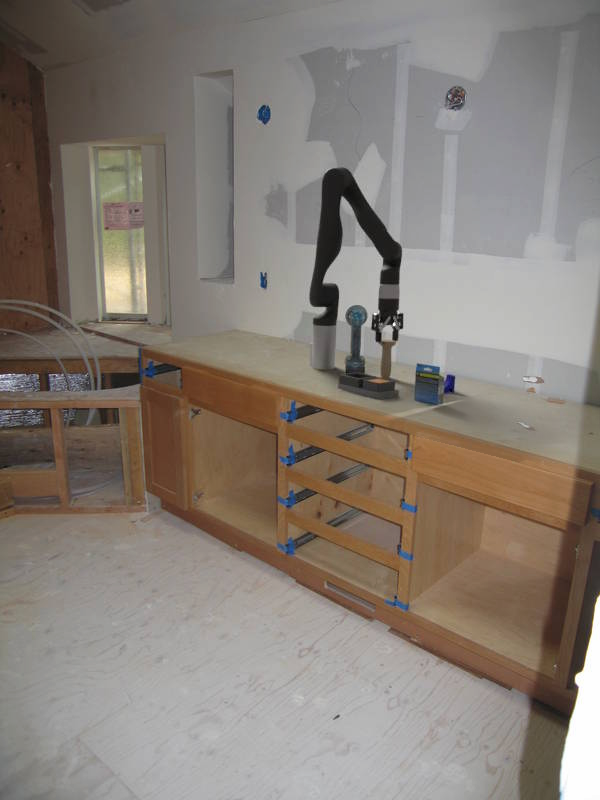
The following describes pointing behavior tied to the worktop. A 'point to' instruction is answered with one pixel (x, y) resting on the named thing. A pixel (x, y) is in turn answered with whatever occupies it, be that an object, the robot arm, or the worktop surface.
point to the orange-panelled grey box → (367, 385)
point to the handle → (386, 358)
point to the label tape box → (429, 384)
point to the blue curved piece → (449, 383)
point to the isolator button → (378, 380)
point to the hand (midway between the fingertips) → (386, 341)
